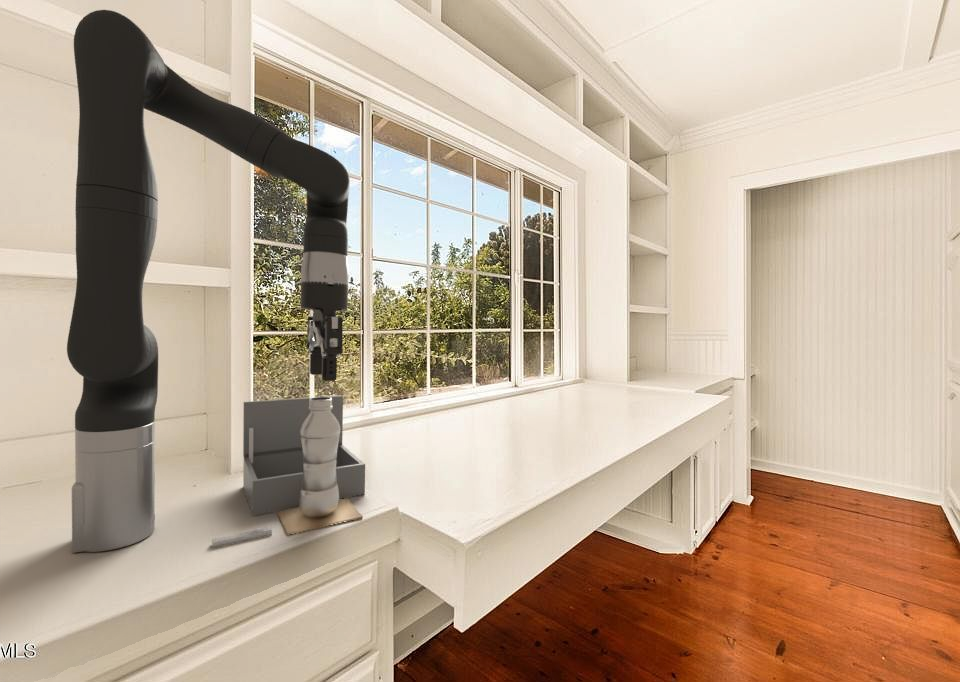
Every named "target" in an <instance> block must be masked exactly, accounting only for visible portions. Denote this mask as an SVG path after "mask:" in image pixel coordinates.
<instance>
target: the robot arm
mask: <svg viewBox="0 0 960 682" xmlns="http://www.w3.org/2000/svg"><path fill="white" fill-rule="evenodd" d="M73 53H74V54H73V55H74V64H75V73H76V83H77V92H78V93H77V94H78V105H79V106H78V108H79V116H78V117H79V119H78V120H79V121H78V122H79V123H78V136H77V137H78V139H77V172H76V173H77V175H76V182H75V183H76V184H75V186H76V187H75V209H74V210H75V263H76V288H75V296H74V302H73V308H72V314H71V317H70V318H71V319H70V324H69V331H68V335H67V336H68V337H67V342H66V343H67V344H66V354H67V358H68V361H69V363H70V365H71V366H72V368H73V369H74V370H75V371H76V372H77V373H78V374H79V375H81V377H83V378H82V381H83V382H82V393H81V397H80V401H79V403H78V406H77V407H76V410H75V413H74V437H75V438H74V439H75V440H74V441H75V442H74V447H75V449H74V454H75V463H74V465H75V470H74V471H75V473H74V474H75V482H74V483H73V484H72V486H71V552H72V553H75V554H76V553H79V552H90V553H91V552H92V553H94V552H98V553H99V552H105V551H111V550H116V549H120V548H125V547H128V546H130V545H133V544H136V543H138V542H140V541H143V540H144V539H146V538H148V537H150V536H151V535H152V534H153V533H154V532H155V526H156V525H155V521H156V514H155V512H156V511H155V507H156V505H155V503H156V501H155V498H156V497H155V494H156V493H155V488H156V487H155V486H156V485H155V483H156V480H155V476H156V475H155V463H156V462H155V461H156V459H155V457H156V456H155V452H156V451H155V449H156V448H155V445H156V444H155V443H156V442H155V436H156V435H155V419H156V418H155V412H156V407H157V406H156V405H157V401H158V392H159V391H158V389H159V387H158V385H159V383H158V382H159V346H158V341H157V338H156V336H155V334H154V333H153V331H152V330H151V329H150V328H149V327H147V326H146V325H145V324H144V314H143V313H144V312H143V290H144V289H143V287H144V282H145V281H144V280H145V275H146V273H147V269H148V266H149V262H150V260H151V257H152V253H153V249H154V247H155V242H156V237H157V231H158V229H157V228H158V209H159V208H158V207H159V195H158V194H159V193H158V183H157V179H156V173H155V167H154V165H153V164H154V163H153V160H152V155H151V152H150V147H149V143H148V140H147V135H146V130H145V120H144V119H145V118H144V115H145V114H144V112H145V111H144V109H145V110H146V111H148V112H152V113H154V114H157V115H159V116H162V117H164V118H166V119H168V120H171V121H174V122H176V123H178V124H180V125H182V126H184V127H186V128H188V129H190V130H191V131H194V132H196V133H198V134H199V135H201V136H204V137H205V138H207V139H209V140H210V141H212V142H214V143H216V144H217V145H219V146H220V147H222V148H224V149H225V150H227V151H229V152H230V153H233V154H234V155H236V156H238V157H239V158H241V159H243V160H244V161H246V162H248V163H249V164H252V165H253V166H255V167H256V168H258V169H260V170H261V171H264V172H265V173H267V174H268V175H271V176H273V177H275V178H278V179H282V178H284V179H287V180H288V181H290V182H291V183H293V184H296V185H297V186H299V187H301V188H302V189H304V190H306V222H305V225H304V228H303V256H302V261H301V262H302V263H301V269H300V270H301V273H300V274H301V275H300V276H301V277H300V279H301V280H300V308H301V309H303V310H308V311H309V310H312V315H308V316H307V329H306V330H307V331H306V333H307V334H306V344H305V346H306V349H307V350H308V353H309V374H310V375H313V376H318V375H320V376H321V380H322V381H324V382H334V381H336V380H337V374H338V371H337V370H338V358H339V357H340V355H343V354H342V353H343V335H344V334H343V330H344V329H343V327H344V326H343V325H344V324H343V322H344V318H343V317H342V316H337V313H336V312H344V311H345V312H346V311H347V310H348V304H349V303H348V300H349V299H348V297H349V264H348V263H349V262H348V261H349V260H348V249H349V247H348V246H349V242H348V241H349V239H348V238H349V234H348V227H347V221H348V209H349V194H350V184H351V183H350V182H351V181H350V175H349V172H348V170H347V168H346V167H345V166H344V164H342V163H341V161H340V160H338V159H337V158H335V157H334V156H333V155H332V154H330V153H328V152H326V151H324V150H322V149H320V148H317V147H315V146H313V145H311V144H308V143H306V142H304V141H301V140H298V139H296V138H293V137H292V136H290V135H289V134H288V133H286V132H285V131H284V130H283V131H282V130H281V129H279V128H278V127H277V126H275V125H273V124H271V123H269V122H268V121H266V120H265V119H263V118H261V117H260V116H258V115H256V114H254V113H252V112H250V111H248V110H246V109H244V108H241V107H239V106H236V105H235V104H231V103H228V102H225V101H222V100H220V99H217V98H215V97H213V96H211V95H209V94H208V93H205V92H203V91H202V90H200V89H198V88H197V87H195V86H194V85H192V84H191V83H189V82H188V81H187V80H185V79H184V78H183V77H182V76H180V75H179V74H178V73H177V72H175V71H174V70H173V69H172V68H171V67H169V65H168V64H166V63H165V62H164V59H163V58H162V56H161V54H159V52H158V50H157V49H156V47H155V46H154V44H153V43H152V41H151V40H150V39H149V37H148V36H147V35H146V34H145V32H144V31H143V30H142V29H141V28H140V27H139V26H138V25H137V24H136V23H135V22H133V20H131V19H129V18H128V17H127V16H125V15H123V14H122V13H119V12H117V11H114V10H109V9H97V10H94V11H91V12H89V13H88V14H86V15H85V16H83V18H81V20H80V21H79V22H78V24H77V26H76V28H75V32H74V36H73Z"/></svg>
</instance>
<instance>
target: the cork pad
mask: <svg viewBox="0 0 960 682" xmlns="http://www.w3.org/2000/svg"><path fill="white" fill-rule="evenodd" d="M277 515H278V518H279V519H280V522H281V525H282V527H283V529H284V531H285V534H286V536H291V535H290V534H292V535H296V534H300V533H299V532H301V533H303V531H305V532H308V531H307V530H310V531H313V529H314V530H317V528H319V529H322V528H321V527H323V528H326V527H325V526H327V527H329V526H328V525H331V524H335V523H339V522H344V521H350V520H354V521H357V520H356V519H359V520H363V519H362V518H363V515H362V514H361V512H360V511H359V510H358V509H357V508H356V507H355V505H353V503H352V502H351V501H350V500H349V498H344V499H339V503H338V506H337V508H336V509H335V511H334V512H333V513H331V514H329V515H326V516H322V517H307V516H304V515H303V514H302V512H301V511H300V507H297V508H292V509H287V510H281V511H277ZM350 522H351V521H350ZM295 533H296V534H295Z"/></svg>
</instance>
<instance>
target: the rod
mask: <svg viewBox="0 0 960 682" xmlns="http://www.w3.org/2000/svg"><path fill="white" fill-rule="evenodd" d="M268 535H270V536H272V535H273V529H272V526H267V527H262V528H258V529H254V530H253V529H252V530H249V531H244V532H240V533H235V534H230V535H226V536H221V537H220V536H219V537H216V538H212V539H211V548H212V549H215V548H219V547H221V548H222V547H225V546H229V545H228V544H230V545H233V544H232V543H234V544H238V543H237V542H239V543H242V542H247V541H252V540H256V539H260V538H259V537H261V538H265V537H269V536H268ZM264 536H265V537H264ZM255 538H256V539H255ZM251 539H252V540H251ZM224 545H225V546H224Z"/></svg>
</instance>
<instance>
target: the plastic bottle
mask: <svg viewBox="0 0 960 682" xmlns="http://www.w3.org/2000/svg"><path fill="white" fill-rule="evenodd" d="M309 398H310V397H309ZM332 408H333V406H332V398H331V397H326V396H315V397H313V398H310V399H309V410H311V411H310V414H309V415H308V417H307V418H306V419H305V421H304V422H303V424H302V427H301V430H300V434H301V442H302V450H303V461H304V463H303V479H302V488H301V491H300V496H299V507H298V508H300V511H301V512H302V514H303V515H304V516H307V517H322V516H326V515H329V514H331V513H333V512H334V511H335V509H336V508H337V506H338V503H339V500H340V499H339V489H338V484H337V473H336V458H337V448H338V442H339V436H340V435H339V434H340V425H339V422H338V420H337V419H336V417H335V416H334V415H333V414H332V413H331V409H332Z"/></svg>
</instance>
